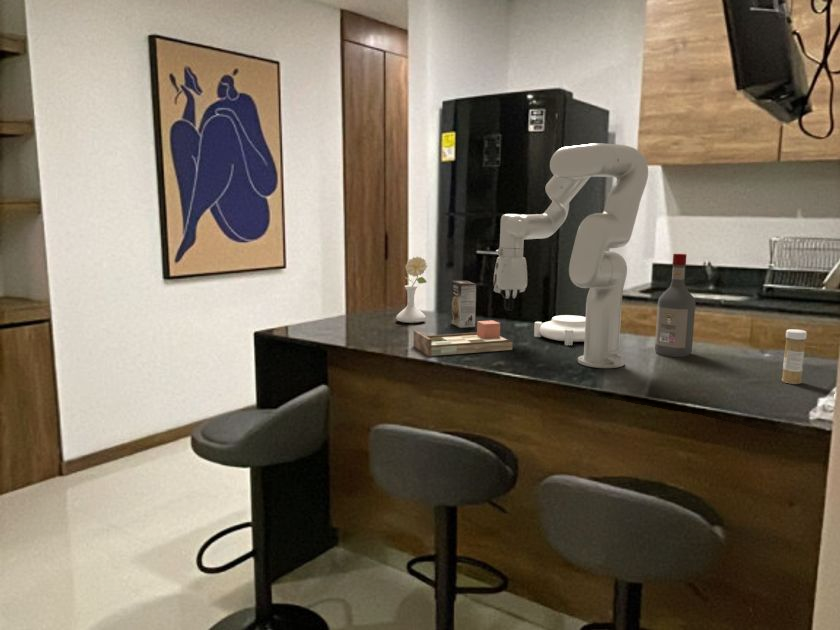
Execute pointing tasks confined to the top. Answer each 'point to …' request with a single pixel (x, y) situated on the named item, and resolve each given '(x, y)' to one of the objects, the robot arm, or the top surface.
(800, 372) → the sprinkles bottle
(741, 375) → the top surface
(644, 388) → the top surface
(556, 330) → the round stand with pegs
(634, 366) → the top surface
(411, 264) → the flower in vase
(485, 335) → the block
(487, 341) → the board
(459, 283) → the coffee box
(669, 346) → the liquor
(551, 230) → the robot arm
